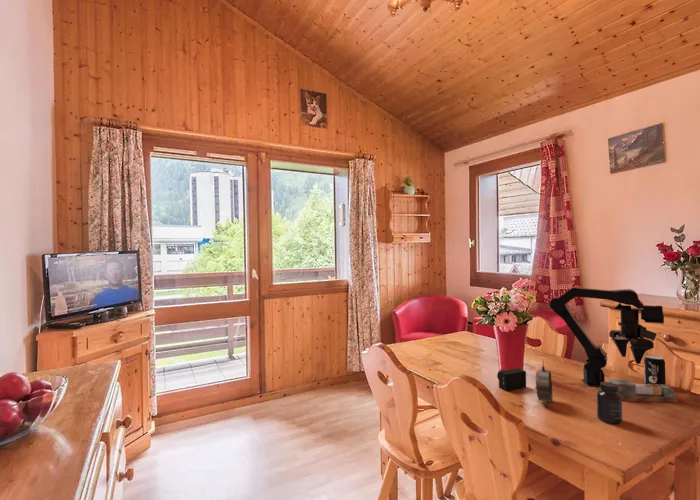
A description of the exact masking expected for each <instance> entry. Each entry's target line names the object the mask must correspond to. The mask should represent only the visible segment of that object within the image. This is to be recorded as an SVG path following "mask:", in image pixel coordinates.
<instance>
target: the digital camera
mask: <svg viewBox="0 0 700 500" xmlns="http://www.w3.org/2000/svg"><path fill="white" fill-rule="evenodd" d="M496 377H497V379H498V388H499V389H500V390H503V391H505V392H511V391H516V390H517V391H518V390H522V389H526V388H527V371H526V370H523V369H521V368H517V367H516V368H511V369H506V370H504V369H501V370H498V372H497V374H496Z"/></svg>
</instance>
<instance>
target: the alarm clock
mask: <svg viewBox="0 0 700 500" xmlns="http://www.w3.org/2000/svg"><path fill="white" fill-rule="evenodd" d="M544 360H545V359H544V358H543V359H542V366H541V369H538V370H537V371H536V374H535V389H536V395H537V401H541V402H544V403H545V408H547V409H548V403H552V402H553V382H552V373H551V370H548V369H547V370H546V369H545V366H544V364H545V362H544Z"/></svg>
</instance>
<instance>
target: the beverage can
mask: <svg viewBox="0 0 700 500" xmlns="http://www.w3.org/2000/svg"><path fill="white" fill-rule="evenodd" d="M643 358H644V359H643V367H644V368H643V371H644V373H643V375H644V377H643V378H644V384H663V385H666V383H667V382H666V378H667V377H666V361H665V359H664V357H663V356H660V355H655V354H644V357H643ZM666 386H667V385H666Z"/></svg>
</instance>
